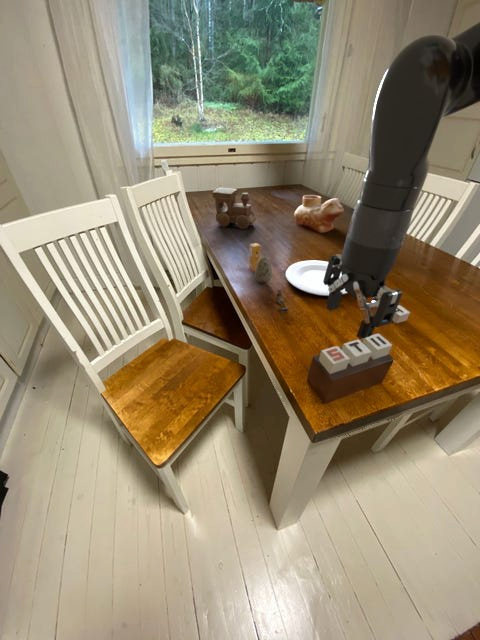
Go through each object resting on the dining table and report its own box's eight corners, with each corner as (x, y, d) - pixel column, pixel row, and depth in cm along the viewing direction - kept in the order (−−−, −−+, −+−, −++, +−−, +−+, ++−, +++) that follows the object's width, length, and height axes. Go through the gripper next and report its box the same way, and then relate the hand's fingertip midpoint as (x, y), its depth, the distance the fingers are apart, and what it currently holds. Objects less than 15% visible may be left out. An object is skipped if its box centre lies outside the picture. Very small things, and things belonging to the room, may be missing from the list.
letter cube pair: (406, 320, 81) (411, 312, 79) (395, 323, 80) (399, 315, 78) (383, 303, 88) (386, 295, 86) (372, 306, 87) (375, 298, 85)
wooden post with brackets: (278, 294, 90) (282, 286, 86) (284, 315, 86) (288, 308, 82) (273, 294, 90) (276, 287, 86) (279, 316, 86) (282, 309, 82)
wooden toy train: (213, 226, 141) (211, 191, 130) (221, 219, 149) (220, 186, 139) (250, 231, 136) (251, 195, 126) (256, 223, 145) (257, 189, 134)
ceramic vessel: (328, 236, 131) (336, 204, 122) (287, 222, 146) (291, 192, 137) (344, 229, 138) (352, 198, 129) (303, 216, 154) (308, 188, 144)
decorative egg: (260, 276, 101) (261, 251, 95) (274, 281, 98) (276, 255, 92) (251, 283, 97) (252, 257, 91) (265, 288, 94) (267, 262, 88)
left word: (387, 354, 59) (392, 344, 57) (352, 366, 56) (356, 356, 54) (374, 343, 62) (378, 332, 60) (340, 353, 59) (343, 343, 57)
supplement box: (256, 266, 107) (257, 242, 101) (259, 270, 104) (261, 246, 98) (248, 268, 106) (249, 243, 100) (251, 272, 103) (252, 247, 97)
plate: (289, 299, 89) (290, 294, 88) (281, 263, 109) (282, 259, 108) (365, 300, 89) (367, 295, 88) (343, 264, 109) (345, 260, 108)
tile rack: (382, 382, 63) (394, 359, 58) (324, 404, 58) (332, 380, 53) (361, 361, 68) (371, 338, 63) (306, 379, 64) (312, 356, 59)
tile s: (346, 368, 56) (350, 358, 54) (329, 374, 55) (333, 363, 53) (334, 355, 59) (337, 345, 57) (318, 360, 58) (321, 350, 56)
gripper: (437, 251, 35) (392, 342, 45) (361, 217, 46) (338, 297, 56) (392, 261, 33) (355, 353, 43) (324, 222, 43) (307, 304, 54)
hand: (346, 321), depth 50 cm, fingers open, 8 cm apart
